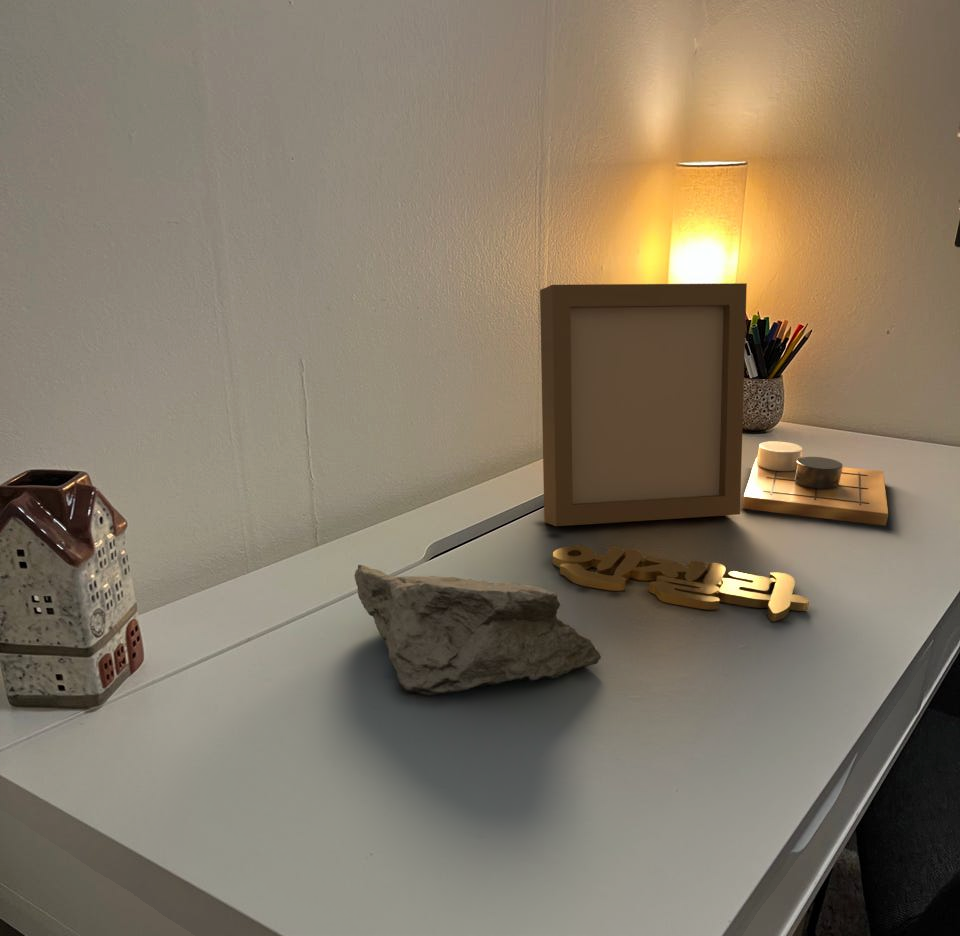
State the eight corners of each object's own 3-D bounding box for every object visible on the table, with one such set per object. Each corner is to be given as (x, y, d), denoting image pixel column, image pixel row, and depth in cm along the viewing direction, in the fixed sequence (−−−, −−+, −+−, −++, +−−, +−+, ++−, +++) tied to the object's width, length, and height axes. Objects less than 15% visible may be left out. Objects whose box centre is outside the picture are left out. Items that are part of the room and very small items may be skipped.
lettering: (534, 579, 92) (534, 570, 92) (566, 545, 100) (567, 537, 100) (803, 626, 84) (804, 617, 83) (813, 585, 92) (815, 576, 92)
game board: (881, 482, 124) (883, 470, 123) (885, 526, 109) (888, 512, 108) (754, 468, 128) (756, 457, 128) (741, 508, 113) (743, 495, 112)
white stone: (800, 462, 126) (803, 443, 125) (798, 473, 121) (801, 454, 120) (758, 457, 127) (761, 439, 126) (754, 468, 123) (757, 449, 122)
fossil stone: (619, 653, 78) (616, 537, 73) (515, 744, 67) (504, 614, 62) (423, 610, 89) (410, 507, 84) (307, 681, 78) (285, 567, 74)
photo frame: (738, 522, 108) (773, 289, 97) (555, 534, 104) (569, 291, 93) (684, 484, 121) (708, 274, 110) (519, 493, 117) (527, 275, 105)
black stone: (839, 479, 119) (843, 459, 118) (839, 491, 115) (842, 471, 114) (794, 474, 121) (797, 454, 120) (792, 486, 116) (795, 465, 115)
